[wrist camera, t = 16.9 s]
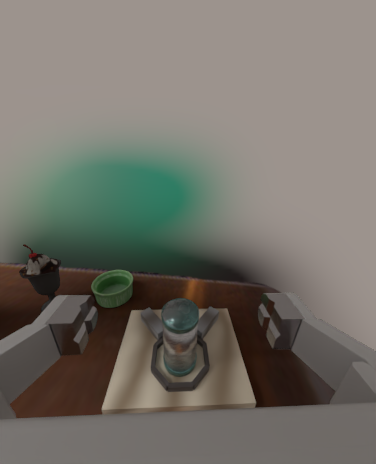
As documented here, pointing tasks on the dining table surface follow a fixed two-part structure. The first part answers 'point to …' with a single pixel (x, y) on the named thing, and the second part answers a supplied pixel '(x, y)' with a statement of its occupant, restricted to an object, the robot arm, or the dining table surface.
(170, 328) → the teal-capped glass jar
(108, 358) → the dining table surface
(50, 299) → the sundae
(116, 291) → the ramekin
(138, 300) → the dining table surface
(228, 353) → the board
